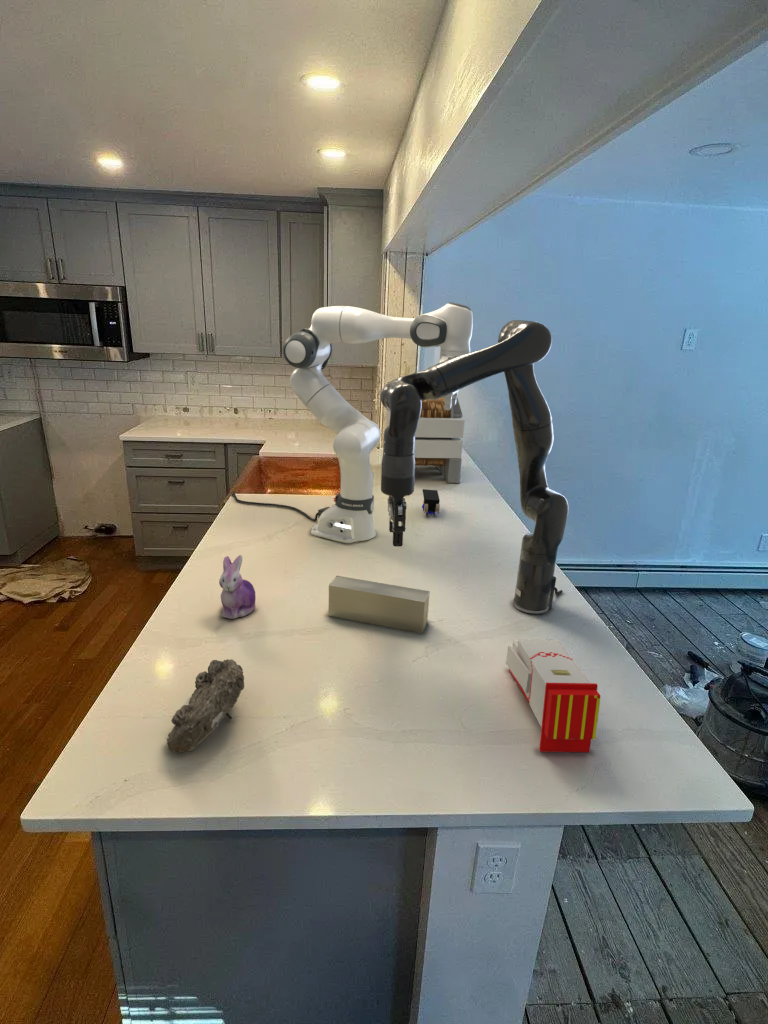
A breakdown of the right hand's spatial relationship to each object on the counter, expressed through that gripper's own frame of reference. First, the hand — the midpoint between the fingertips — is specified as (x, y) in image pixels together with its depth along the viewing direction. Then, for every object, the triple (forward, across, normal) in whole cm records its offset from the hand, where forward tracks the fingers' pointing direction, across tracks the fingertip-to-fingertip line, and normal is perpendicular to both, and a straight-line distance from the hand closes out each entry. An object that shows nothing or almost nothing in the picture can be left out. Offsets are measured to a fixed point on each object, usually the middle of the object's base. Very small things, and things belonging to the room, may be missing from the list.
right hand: (395, 538), depth 133 cm
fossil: (+23, -32, +38) cm, 54 cm away
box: (+24, +4, +3) cm, 25 cm away
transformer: (+25, +140, -27) cm, 145 cm away
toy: (+24, -30, -28) cm, 47 cm away
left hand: (-22, +50, -21) cm, 59 cm away
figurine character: (+25, +84, -23) cm, 91 cm away
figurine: (+24, +8, +39) cm, 46 cm away
